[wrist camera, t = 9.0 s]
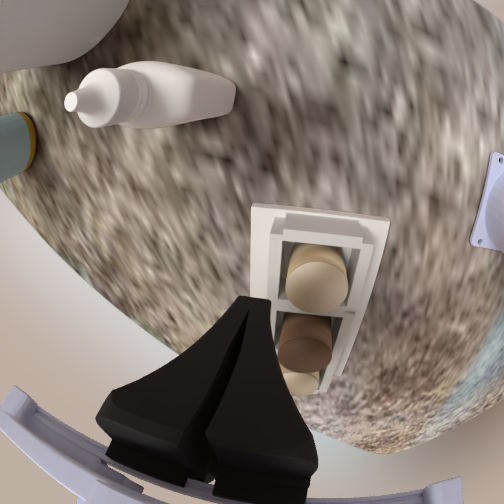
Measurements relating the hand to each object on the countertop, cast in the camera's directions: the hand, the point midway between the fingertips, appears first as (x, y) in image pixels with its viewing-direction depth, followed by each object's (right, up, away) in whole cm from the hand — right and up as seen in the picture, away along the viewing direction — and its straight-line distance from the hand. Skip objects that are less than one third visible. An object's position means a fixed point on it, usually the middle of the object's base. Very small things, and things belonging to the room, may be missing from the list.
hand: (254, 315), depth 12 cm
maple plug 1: (+5, +2, +9) cm, 10 cm away
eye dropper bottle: (-4, +14, +5) cm, 15 cm away
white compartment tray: (+5, -2, +12) cm, 13 cm away
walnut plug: (+4, -3, +11) cm, 12 cm away
